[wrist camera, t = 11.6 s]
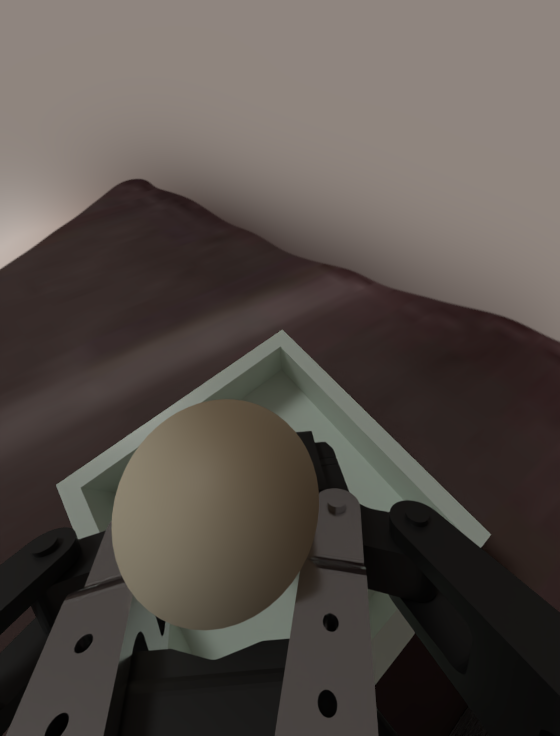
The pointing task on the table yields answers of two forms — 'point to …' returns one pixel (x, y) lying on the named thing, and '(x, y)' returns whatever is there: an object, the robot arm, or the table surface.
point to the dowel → (215, 514)
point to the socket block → (469, 725)
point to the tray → (328, 424)
